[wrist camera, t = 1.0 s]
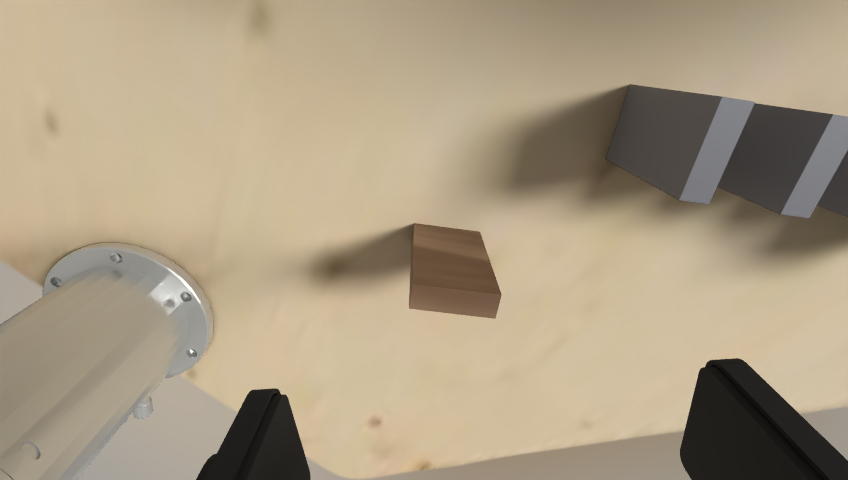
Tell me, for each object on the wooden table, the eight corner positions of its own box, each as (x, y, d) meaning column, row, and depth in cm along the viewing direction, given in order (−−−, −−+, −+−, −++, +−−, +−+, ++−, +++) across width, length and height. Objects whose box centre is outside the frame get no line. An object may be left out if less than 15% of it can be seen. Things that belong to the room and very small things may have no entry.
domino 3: (731, 100, 27) (864, 119, 19) (700, 173, 29) (809, 218, 21) (708, 97, 27) (833, 114, 19) (679, 170, 29) (780, 214, 21)
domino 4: (807, 112, 28) (970, 136, 20) (771, 183, 30) (905, 232, 22) (785, 109, 28) (939, 131, 20) (751, 180, 30) (878, 228, 22)
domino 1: (475, 250, 32) (495, 318, 24) (411, 242, 31) (408, 308, 23) (479, 231, 31) (501, 294, 23) (414, 223, 31) (412, 284, 23)
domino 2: (653, 88, 27) (755, 101, 19) (627, 162, 29) (709, 204, 21) (629, 84, 27) (722, 96, 19) (605, 159, 29) (679, 200, 21)
